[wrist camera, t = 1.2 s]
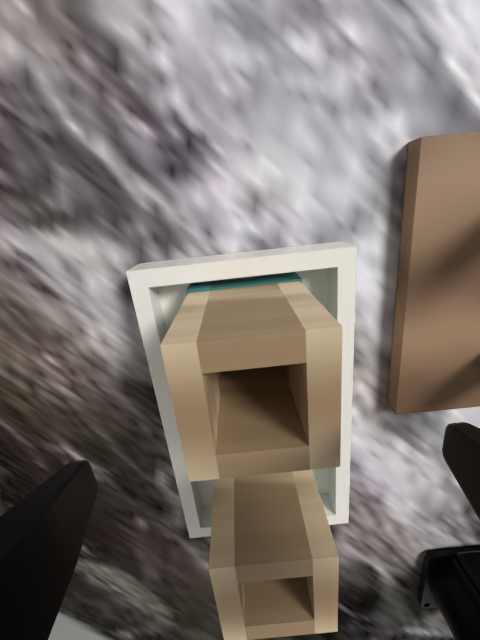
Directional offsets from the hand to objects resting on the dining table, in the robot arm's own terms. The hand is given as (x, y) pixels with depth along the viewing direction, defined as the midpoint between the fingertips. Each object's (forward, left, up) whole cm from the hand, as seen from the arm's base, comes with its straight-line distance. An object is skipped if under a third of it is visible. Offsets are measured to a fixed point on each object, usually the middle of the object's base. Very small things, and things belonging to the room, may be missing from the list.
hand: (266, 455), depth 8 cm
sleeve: (-9, 0, -9) cm, 13 cm away
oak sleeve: (0, 0, -9) cm, 9 cm away
